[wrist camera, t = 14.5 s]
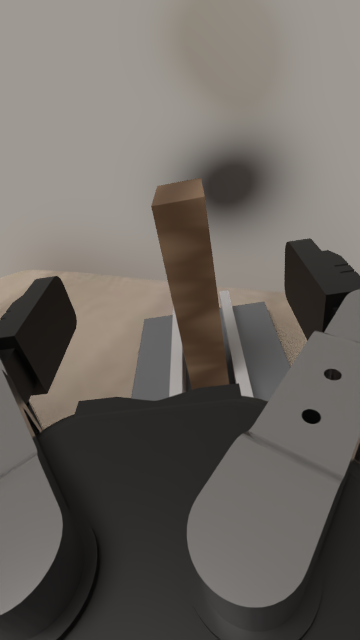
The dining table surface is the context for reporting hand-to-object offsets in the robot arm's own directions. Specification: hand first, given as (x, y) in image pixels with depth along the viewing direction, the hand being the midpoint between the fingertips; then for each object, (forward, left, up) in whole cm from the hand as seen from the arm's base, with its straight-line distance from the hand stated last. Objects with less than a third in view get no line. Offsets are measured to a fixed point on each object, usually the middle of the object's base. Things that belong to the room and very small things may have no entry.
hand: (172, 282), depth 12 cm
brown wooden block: (0, +11, -15) cm, 19 cm away
